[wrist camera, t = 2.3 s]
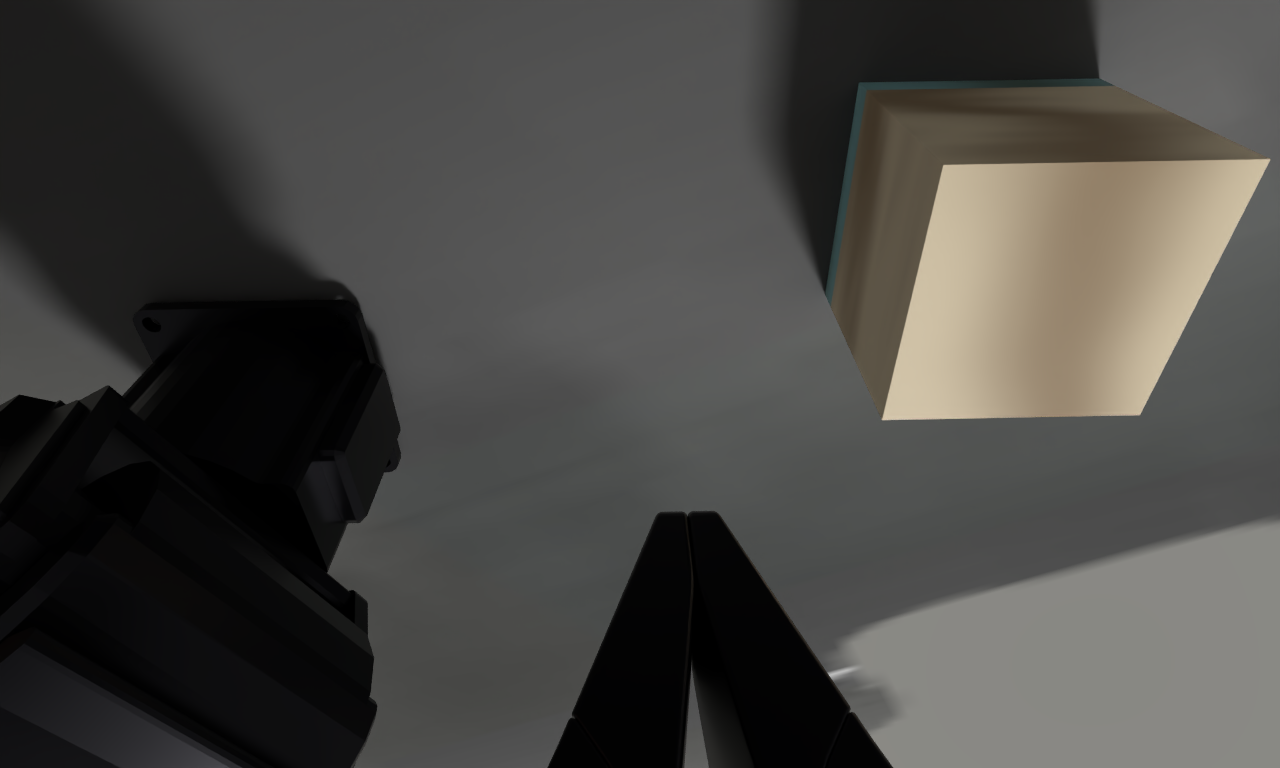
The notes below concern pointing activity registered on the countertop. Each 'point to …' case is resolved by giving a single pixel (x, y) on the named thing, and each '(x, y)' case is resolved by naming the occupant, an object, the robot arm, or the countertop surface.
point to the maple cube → (1025, 244)
